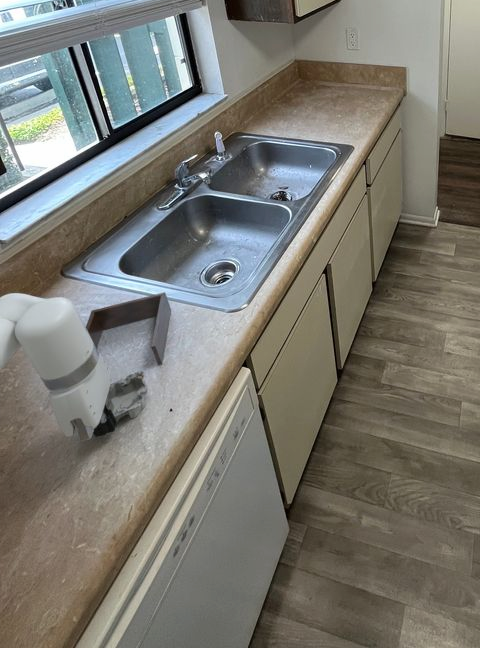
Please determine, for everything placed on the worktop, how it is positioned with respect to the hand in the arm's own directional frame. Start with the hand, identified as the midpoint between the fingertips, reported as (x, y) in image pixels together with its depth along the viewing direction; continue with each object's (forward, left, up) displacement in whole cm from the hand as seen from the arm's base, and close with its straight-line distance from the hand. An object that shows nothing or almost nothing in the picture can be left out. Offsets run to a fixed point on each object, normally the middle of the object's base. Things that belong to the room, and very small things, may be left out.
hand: (106, 429), depth 80 cm
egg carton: (0, +5, -2) cm, 6 cm away
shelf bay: (0, +19, -2) cm, 19 cm away
